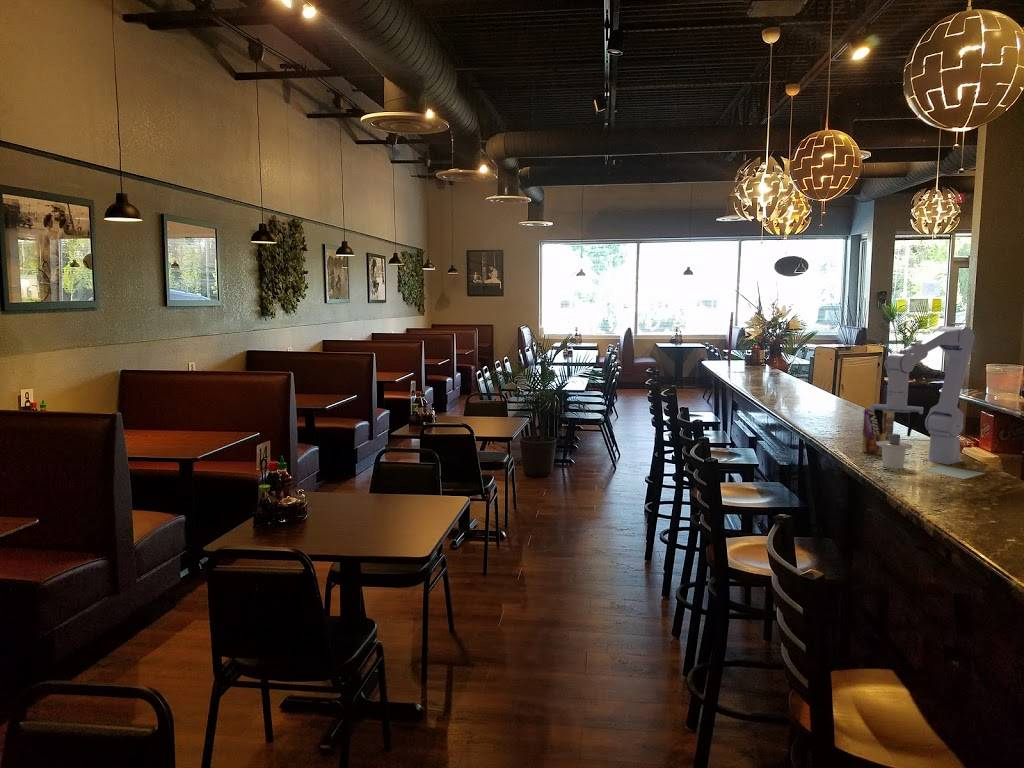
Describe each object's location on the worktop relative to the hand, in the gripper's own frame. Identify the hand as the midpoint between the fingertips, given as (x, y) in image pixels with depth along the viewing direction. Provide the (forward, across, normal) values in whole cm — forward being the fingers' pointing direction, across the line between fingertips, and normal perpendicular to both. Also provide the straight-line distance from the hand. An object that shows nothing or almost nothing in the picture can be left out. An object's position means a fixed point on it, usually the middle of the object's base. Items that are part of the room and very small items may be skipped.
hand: (894, 434), depth 231 cm
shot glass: (+11, 0, 0) cm, 11 cm away
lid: (+3, 0, 0) cm, 3 cm away
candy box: (+11, -4, +22) cm, 25 cm away
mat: (+10, +16, 0) cm, 19 cm away
